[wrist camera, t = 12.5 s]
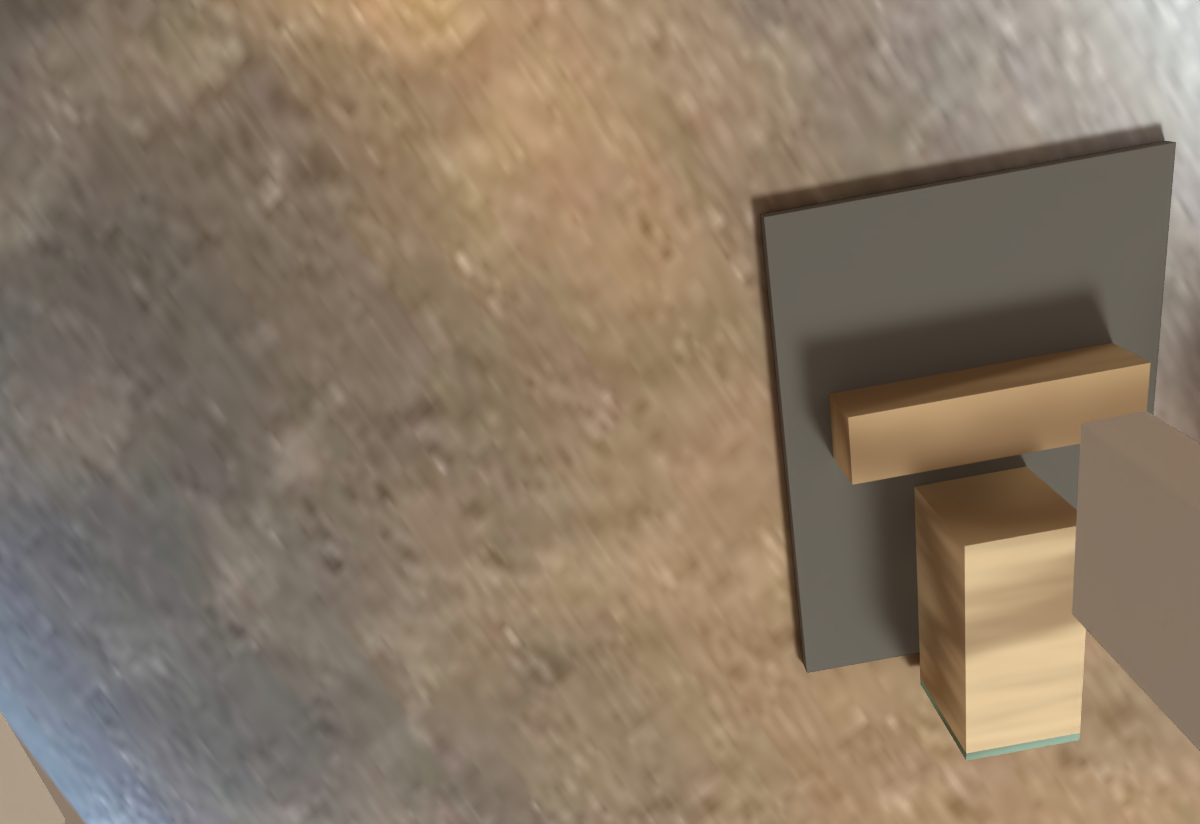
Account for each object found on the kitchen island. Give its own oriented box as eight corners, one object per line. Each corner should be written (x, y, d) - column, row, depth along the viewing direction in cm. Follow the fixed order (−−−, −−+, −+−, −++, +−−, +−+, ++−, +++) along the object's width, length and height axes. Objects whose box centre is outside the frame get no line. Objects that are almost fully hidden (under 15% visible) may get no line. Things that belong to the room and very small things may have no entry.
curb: (828, 394, 37) (848, 417, 35) (1112, 342, 37) (1150, 362, 35) (833, 457, 39) (852, 484, 36) (1108, 408, 39) (1144, 431, 36)
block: (964, 545, 35) (966, 760, 39) (1091, 522, 35) (1079, 740, 39) (914, 486, 39) (920, 684, 44) (1026, 466, 39) (1021, 665, 44)
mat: (760, 214, 35) (764, 217, 34) (1165, 140, 35) (1175, 142, 34) (803, 665, 43) (807, 672, 43) (1128, 605, 43) (1136, 613, 43)
